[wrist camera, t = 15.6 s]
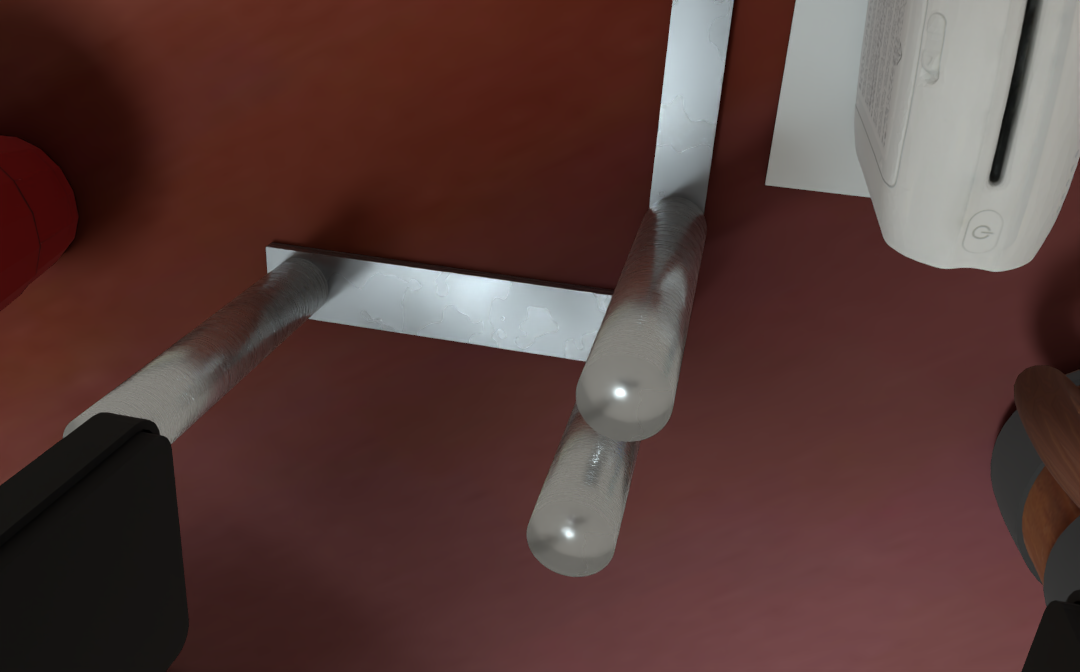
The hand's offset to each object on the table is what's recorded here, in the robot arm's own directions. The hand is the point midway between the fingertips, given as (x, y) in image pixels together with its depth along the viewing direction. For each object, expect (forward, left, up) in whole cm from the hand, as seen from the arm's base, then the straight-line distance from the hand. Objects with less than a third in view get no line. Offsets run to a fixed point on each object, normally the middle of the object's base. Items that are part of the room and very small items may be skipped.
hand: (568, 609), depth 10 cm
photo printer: (+4, -7, -26) cm, 27 cm away
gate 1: (-9, +9, -27) cm, 29 cm away
